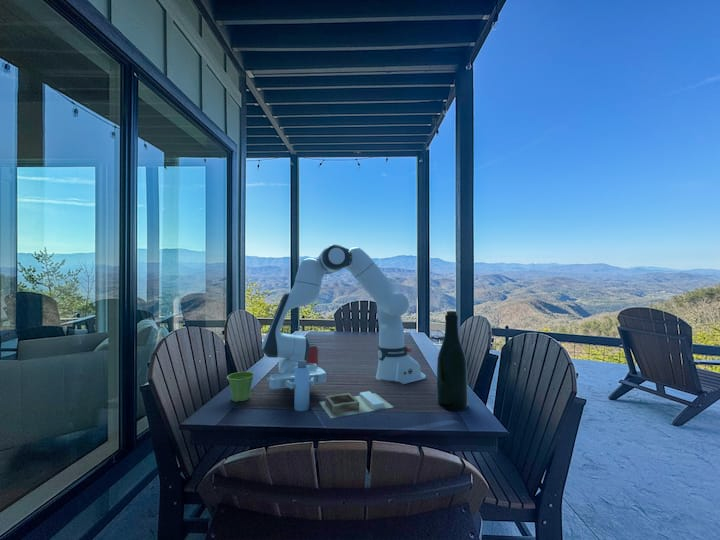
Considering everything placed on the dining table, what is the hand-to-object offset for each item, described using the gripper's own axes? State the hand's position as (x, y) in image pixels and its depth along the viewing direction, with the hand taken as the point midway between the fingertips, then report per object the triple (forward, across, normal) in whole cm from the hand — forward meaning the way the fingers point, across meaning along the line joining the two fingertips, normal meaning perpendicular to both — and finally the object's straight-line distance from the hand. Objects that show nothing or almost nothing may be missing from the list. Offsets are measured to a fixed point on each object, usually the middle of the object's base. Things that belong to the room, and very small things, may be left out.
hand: (302, 385), depth 109 cm
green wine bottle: (+17, +49, +8) cm, 53 cm away
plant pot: (-18, -19, +8) cm, 27 cm away
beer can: (-44, +14, +8) cm, 47 cm away
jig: (+6, +17, +8) cm, 20 cm away
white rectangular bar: (+6, +23, +7) cm, 25 cm away
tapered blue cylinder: (-1, 0, +8) cm, 8 cm away
